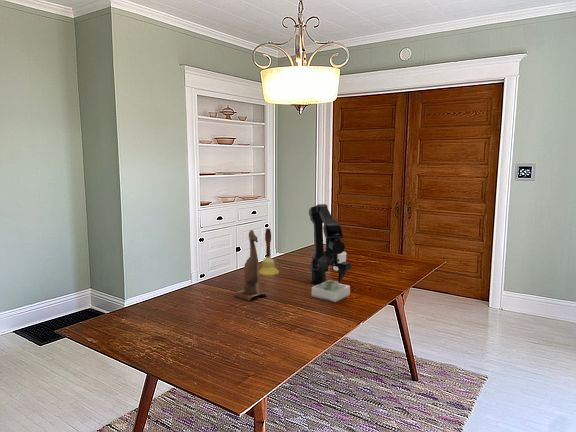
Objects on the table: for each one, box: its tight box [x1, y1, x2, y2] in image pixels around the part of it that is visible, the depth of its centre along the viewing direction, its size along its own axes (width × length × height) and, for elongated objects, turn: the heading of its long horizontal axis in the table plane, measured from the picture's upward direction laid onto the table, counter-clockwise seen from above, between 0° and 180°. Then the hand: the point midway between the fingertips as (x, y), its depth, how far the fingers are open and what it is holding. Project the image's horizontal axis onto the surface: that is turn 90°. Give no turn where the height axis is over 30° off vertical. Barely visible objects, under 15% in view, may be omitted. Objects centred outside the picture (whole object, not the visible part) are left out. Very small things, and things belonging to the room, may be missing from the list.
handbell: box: [259, 228, 280, 276], centre depth 242 cm, size 12×12×25 cm
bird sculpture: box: [234, 229, 269, 303], centre depth 201 cm, size 11×12×32 cm
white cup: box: [332, 251, 347, 272], centre depth 249 cm, size 8×8×10 cm
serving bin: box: [311, 282, 351, 303], centre depth 204 cm, size 13×13×4 cm
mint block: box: [323, 279, 339, 292], centre depth 204 cm, size 5×5×6 cm
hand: (331, 281), depth 204 cm, fingers open, 9 cm apart
